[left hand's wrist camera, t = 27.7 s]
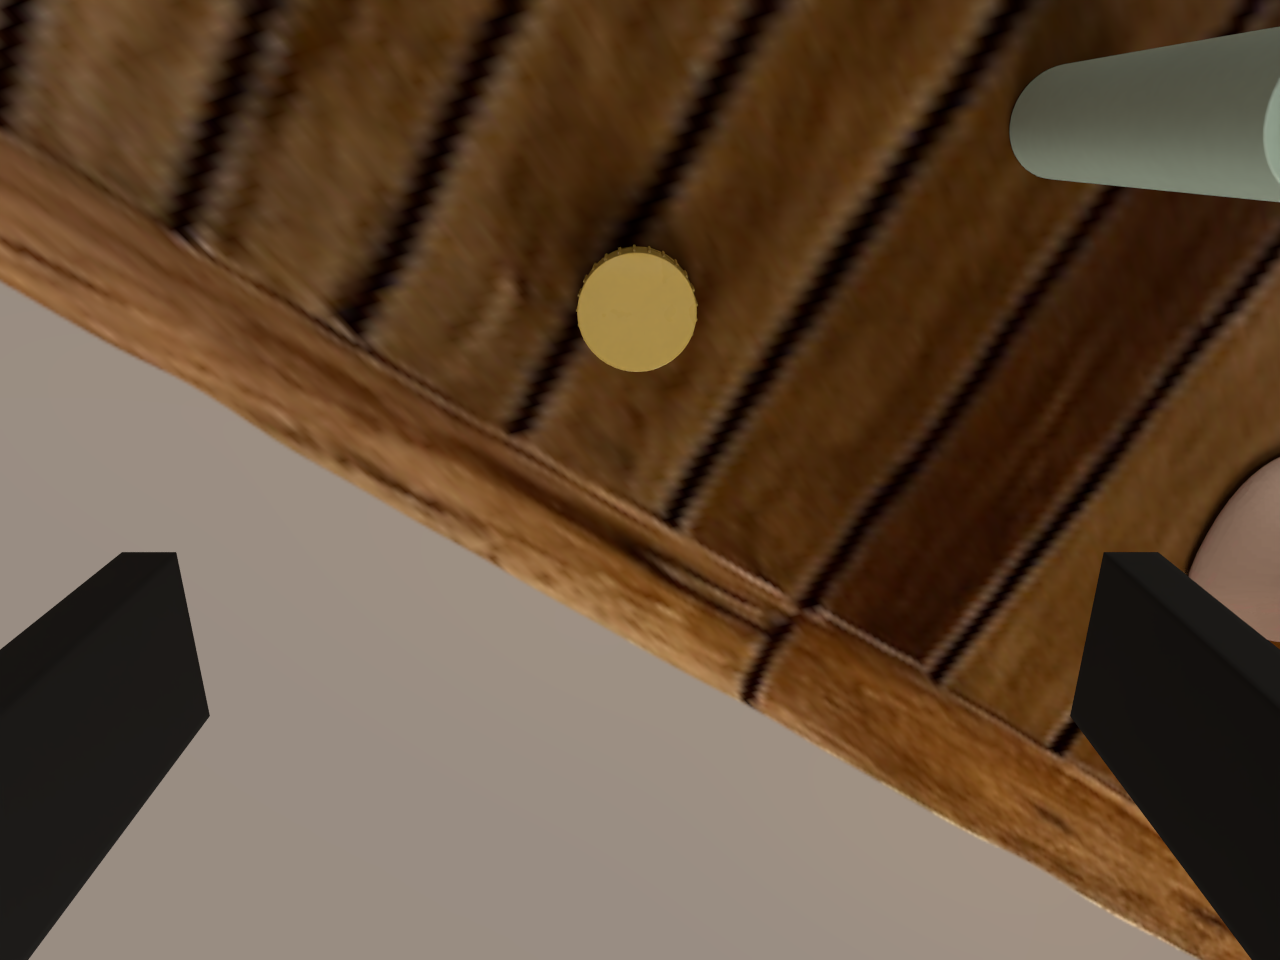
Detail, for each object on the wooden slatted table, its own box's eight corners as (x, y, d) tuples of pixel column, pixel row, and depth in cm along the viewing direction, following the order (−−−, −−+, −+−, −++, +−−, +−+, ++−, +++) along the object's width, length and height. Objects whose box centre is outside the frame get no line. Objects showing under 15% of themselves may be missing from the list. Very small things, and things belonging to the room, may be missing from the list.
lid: (714, 272, 40) (718, 280, 38) (667, 378, 42) (669, 391, 40) (604, 225, 39) (602, 230, 37) (561, 335, 41) (557, 346, 39)
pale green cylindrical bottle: (991, 104, 38) (1296, 75, 20) (1093, 40, 37) (1504, -49, 19) (1034, 200, 39) (1355, 250, 21) (1134, 140, 38) (1551, 142, 21)
